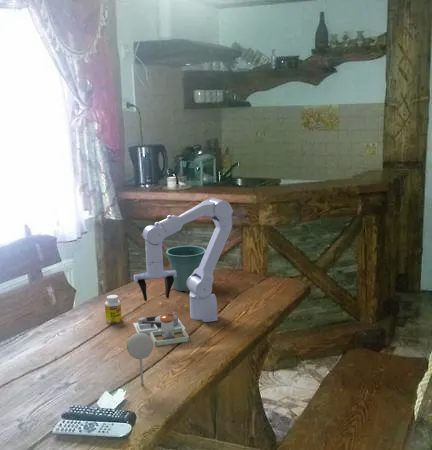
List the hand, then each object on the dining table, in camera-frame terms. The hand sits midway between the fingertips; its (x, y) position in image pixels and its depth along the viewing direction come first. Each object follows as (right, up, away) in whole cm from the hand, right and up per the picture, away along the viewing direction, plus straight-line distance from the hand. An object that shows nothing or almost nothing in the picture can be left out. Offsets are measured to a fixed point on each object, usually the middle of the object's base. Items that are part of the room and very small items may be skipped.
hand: (156, 298), depth 209 cm
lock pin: (+5, -12, -10) cm, 17 cm away
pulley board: (+1, -11, 0) cm, 11 cm away
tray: (+5, -13, -11) cm, 17 cm away
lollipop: (0, -19, -40) cm, 44 cm away
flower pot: (+9, -1, +46) cm, 46 cm away
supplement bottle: (-16, -10, +7) cm, 20 cm away
